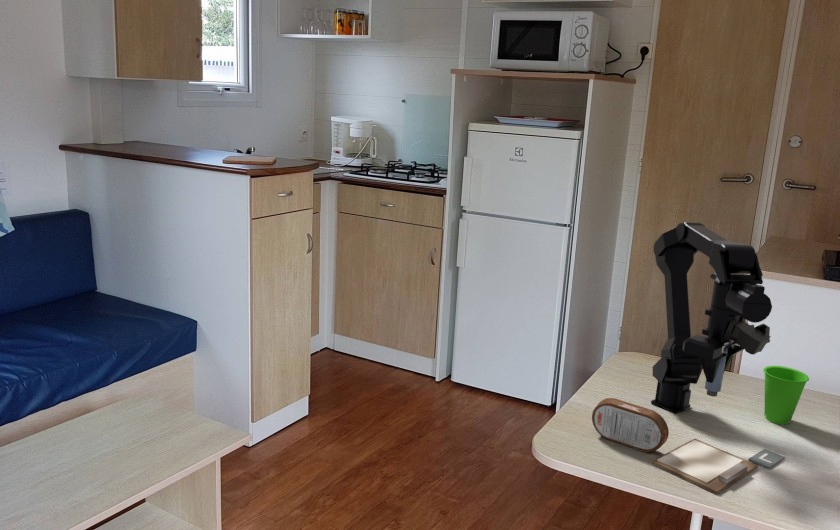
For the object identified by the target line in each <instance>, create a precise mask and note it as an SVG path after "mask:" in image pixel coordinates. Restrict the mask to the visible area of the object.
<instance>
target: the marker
mask: <svg viewBox="0 0 840 530" xmlns="http://www.w3.org/2000/svg"><path fill="white" fill-rule="evenodd" d="M723 353H724V354H727V353H728V348H727V347H726V346H725V347H724V349H723ZM725 362H726V357H725V358H723V359H721V360H720V363H719V366H718V369H717V372H716V375H715V378H714V381H713V383H710V382H707V380H706V379H705V384H704V385H705V386H704V388H705V390H706V395H707V396H709V397H715V398H716V397H718V393H719V392H721V391H722V384H723V380H724V379H723V378H724V374H725V372H724V368H725Z"/></svg>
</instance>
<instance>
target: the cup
mask: <svg viewBox="0 0 840 530" xmlns="http://www.w3.org/2000/svg"><path fill="white" fill-rule="evenodd" d="M762 371H763V373H764V417H765V419H766V420H767V421H769V422H771V423H773V424H777V425H783V424H785V425H789V424H790V423H791V421H792V419H793V417H794V414H795V412H796V408H797V406H798V404H799V401H800V398H801V396H802V394H803V391H804V390H805V389H804V388H805V386H806V384H807V382H809V380H810V378H809V375H807V374H806V373H805V372H803V371H800V370H799V369H798V370H797V369H795V368H792V367H788V366H787V367H786V366H781V365H769V366H767V365H766V366H764V368H763V370H762Z"/></svg>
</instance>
